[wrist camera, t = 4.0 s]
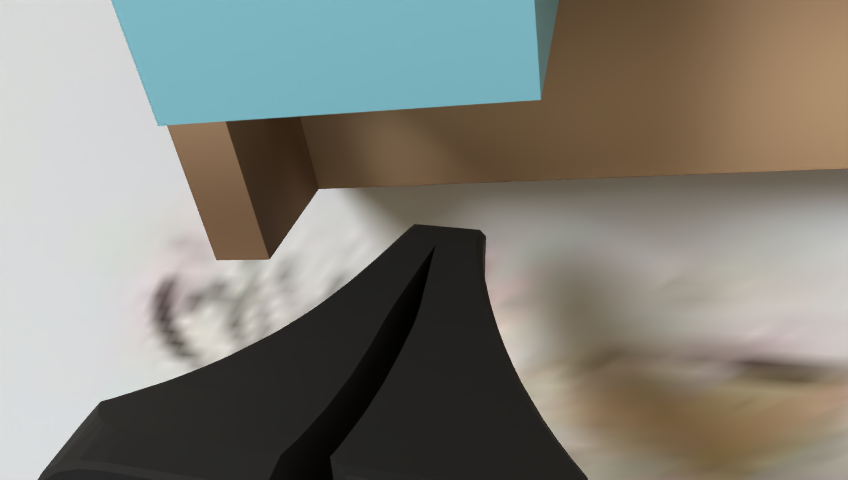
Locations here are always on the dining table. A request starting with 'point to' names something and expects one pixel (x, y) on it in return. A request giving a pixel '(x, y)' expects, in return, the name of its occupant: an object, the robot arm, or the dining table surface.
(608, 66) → the tray
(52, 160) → the dining table surface
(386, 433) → the robot arm
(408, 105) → the block
